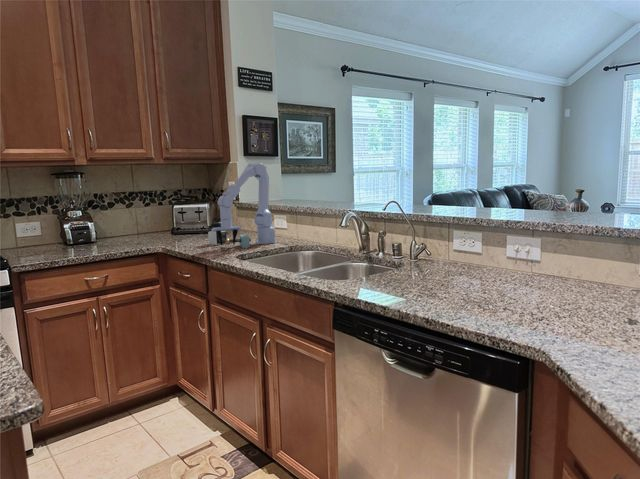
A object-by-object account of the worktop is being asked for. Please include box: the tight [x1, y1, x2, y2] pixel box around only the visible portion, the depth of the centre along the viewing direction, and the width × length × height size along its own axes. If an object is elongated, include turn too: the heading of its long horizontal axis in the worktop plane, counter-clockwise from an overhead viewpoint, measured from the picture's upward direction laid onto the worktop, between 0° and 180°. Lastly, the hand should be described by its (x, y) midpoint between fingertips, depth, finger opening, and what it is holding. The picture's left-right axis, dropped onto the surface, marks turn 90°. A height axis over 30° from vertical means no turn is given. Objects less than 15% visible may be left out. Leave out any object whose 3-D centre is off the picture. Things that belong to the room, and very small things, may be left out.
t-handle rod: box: [225, 237, 252, 246], centre depth 247 cm, size 14×9×3 cm, turn 105°
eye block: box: [239, 233, 250, 249], centre depth 248 cm, size 4×10×6 cm, turn 15°
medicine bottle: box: [207, 221, 227, 246], centre depth 258 cm, size 7×7×12 cm
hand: (227, 244), depth 243 cm, fingers open, 6 cm apart
